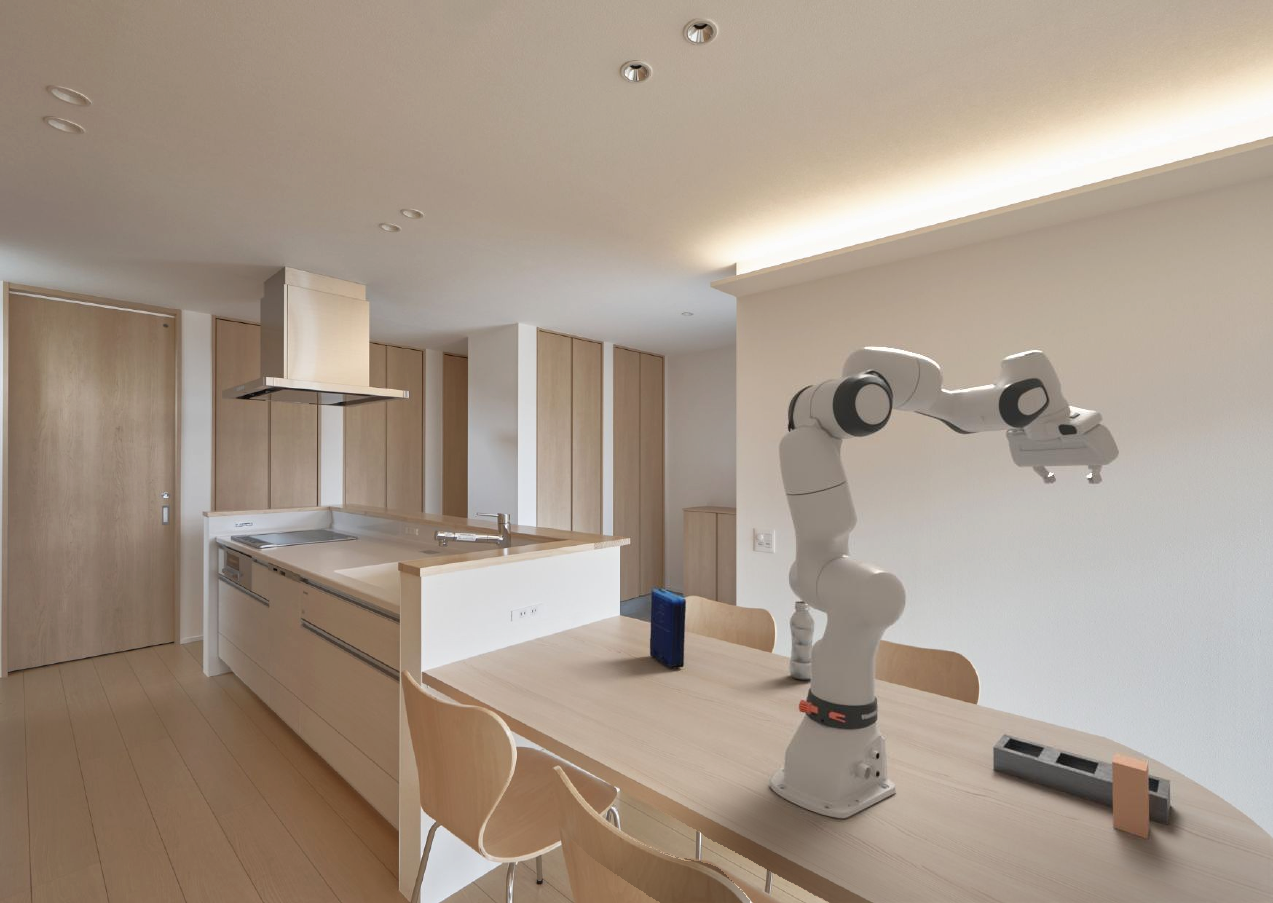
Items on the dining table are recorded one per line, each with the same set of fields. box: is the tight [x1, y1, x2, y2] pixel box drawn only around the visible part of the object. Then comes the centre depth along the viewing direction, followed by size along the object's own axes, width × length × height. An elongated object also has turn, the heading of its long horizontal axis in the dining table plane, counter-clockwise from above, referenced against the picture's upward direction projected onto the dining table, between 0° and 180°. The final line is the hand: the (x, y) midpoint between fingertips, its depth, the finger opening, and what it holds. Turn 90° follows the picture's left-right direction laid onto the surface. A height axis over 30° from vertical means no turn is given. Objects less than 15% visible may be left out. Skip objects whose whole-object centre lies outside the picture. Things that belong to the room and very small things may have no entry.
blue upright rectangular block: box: [649, 588, 687, 669], centre depth 168 cm, size 14×5×20 cm, turn 25°
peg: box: [1111, 753, 1150, 839], centre depth 92 cm, size 4×4×10 cm
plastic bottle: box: [788, 600, 815, 681], centre depth 157 cm, size 6×7×20 cm
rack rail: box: [992, 733, 1171, 826], centre depth 104 cm, size 8×24×4 cm, turn 46°
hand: (1072, 482), depth 124 cm, fingers open, 8 cm apart
